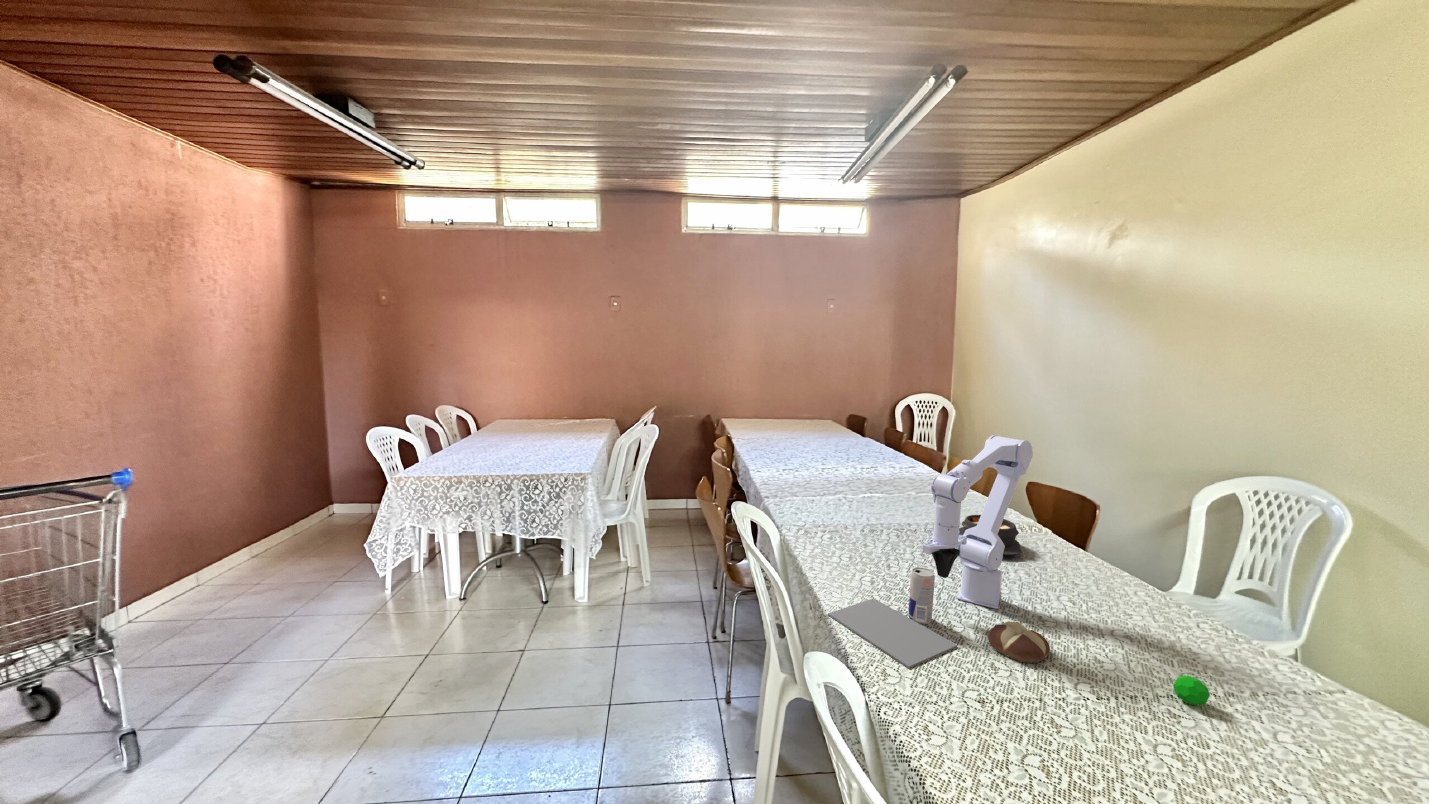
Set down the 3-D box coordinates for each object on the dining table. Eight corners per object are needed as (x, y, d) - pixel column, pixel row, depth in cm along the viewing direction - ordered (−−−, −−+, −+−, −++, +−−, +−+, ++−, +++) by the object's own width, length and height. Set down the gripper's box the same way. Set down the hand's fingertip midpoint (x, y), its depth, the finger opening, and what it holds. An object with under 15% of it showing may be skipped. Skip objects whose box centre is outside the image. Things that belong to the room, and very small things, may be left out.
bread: (978, 642, 117) (980, 621, 116) (1013, 632, 121) (1015, 612, 121) (1025, 671, 107) (1027, 648, 106) (1061, 659, 111) (1063, 637, 110)
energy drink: (914, 610, 130) (917, 565, 128) (935, 619, 126) (938, 572, 125) (904, 618, 126) (907, 571, 125) (926, 627, 122) (929, 578, 121)
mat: (873, 600, 135) (873, 598, 135) (957, 647, 114) (957, 645, 114) (827, 615, 127) (827, 613, 127) (908, 668, 106) (908, 666, 106)
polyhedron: (1214, 708, 96) (1217, 684, 96) (1196, 713, 95) (1199, 689, 94) (1183, 691, 101) (1186, 668, 100) (1165, 695, 99) (1168, 672, 99)
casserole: (945, 531, 187) (947, 508, 186) (998, 533, 186) (1000, 510, 185) (976, 559, 162) (978, 533, 162) (1037, 562, 162) (1039, 536, 161)
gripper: (950, 514, 134) (947, 564, 136) (913, 523, 127) (910, 575, 129) (976, 522, 128) (971, 574, 130) (938, 532, 121) (934, 587, 123)
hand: (942, 576), depth 129 cm, fingers closed
